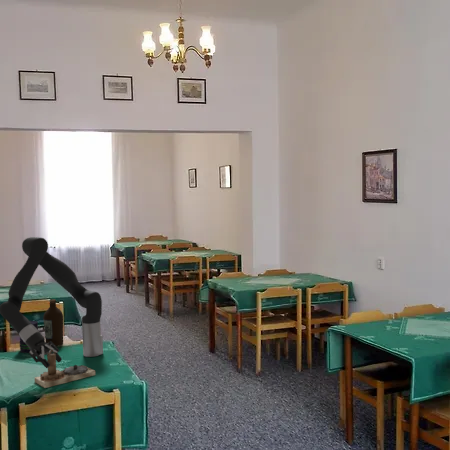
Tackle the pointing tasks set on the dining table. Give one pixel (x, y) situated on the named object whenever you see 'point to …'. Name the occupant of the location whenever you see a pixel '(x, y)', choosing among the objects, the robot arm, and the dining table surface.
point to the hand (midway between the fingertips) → (54, 363)
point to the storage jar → (23, 346)
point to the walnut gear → (52, 369)
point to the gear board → (67, 376)
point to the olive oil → (53, 324)
